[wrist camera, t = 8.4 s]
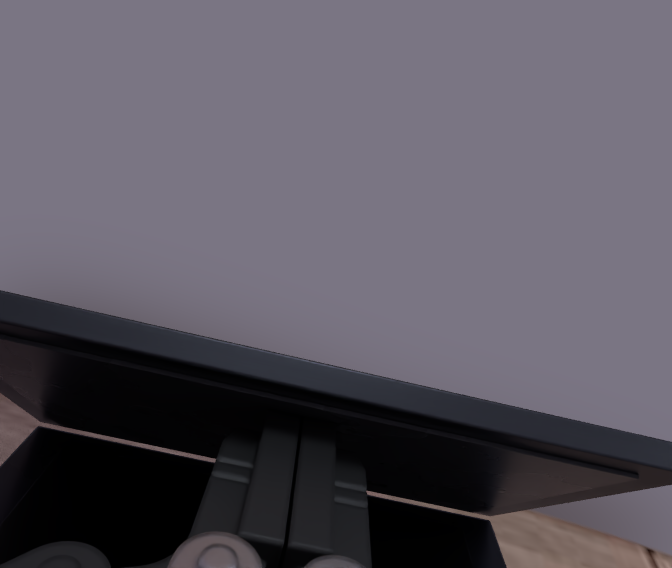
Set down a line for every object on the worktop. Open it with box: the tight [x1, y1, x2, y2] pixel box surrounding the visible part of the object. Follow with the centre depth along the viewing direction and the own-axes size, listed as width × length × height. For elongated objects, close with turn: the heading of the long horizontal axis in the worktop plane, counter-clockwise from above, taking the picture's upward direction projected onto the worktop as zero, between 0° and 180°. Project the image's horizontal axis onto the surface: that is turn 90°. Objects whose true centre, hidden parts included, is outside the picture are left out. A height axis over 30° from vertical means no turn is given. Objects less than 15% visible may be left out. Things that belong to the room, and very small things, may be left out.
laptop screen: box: [0, 290, 672, 516], centre depth 14 cm, size 10×16×1 cm
